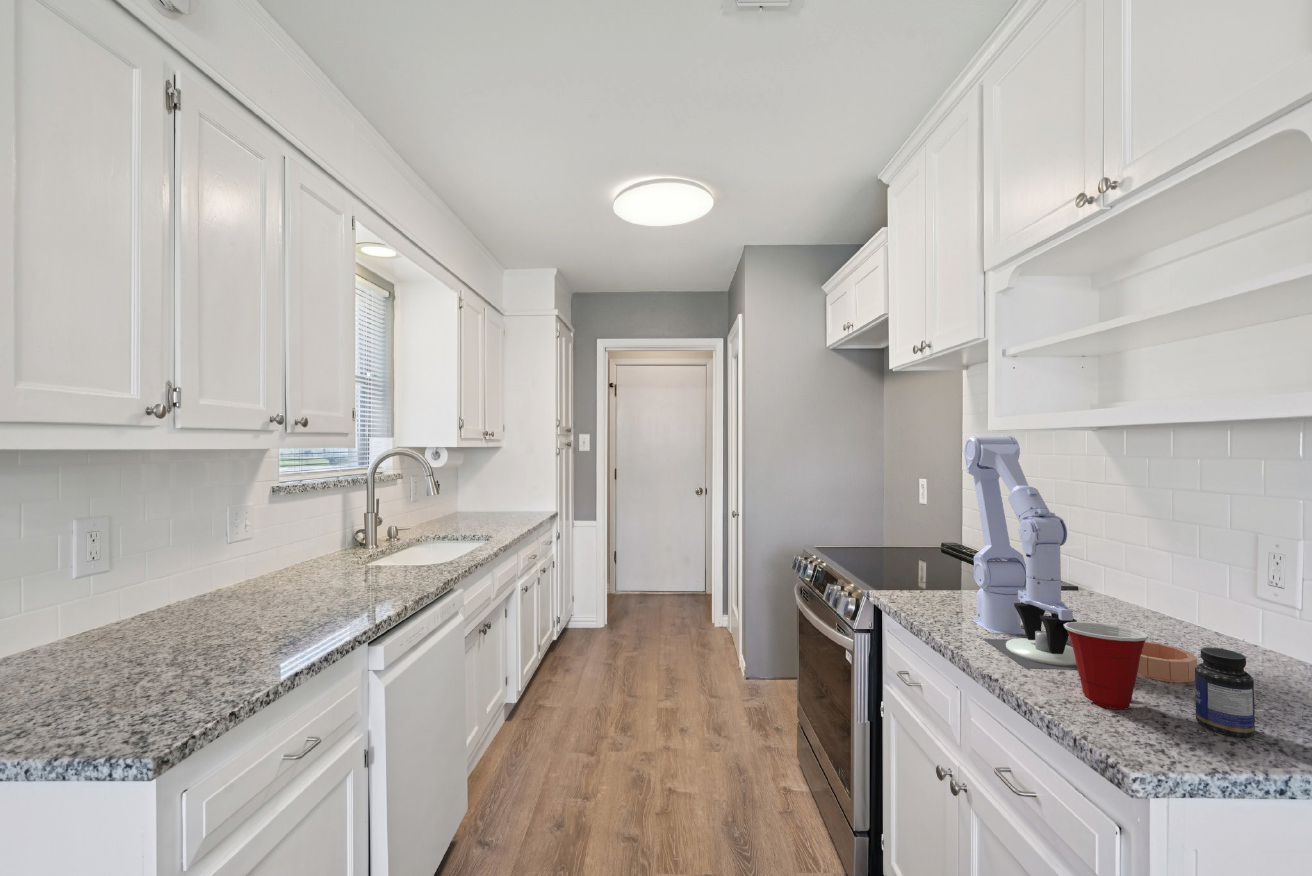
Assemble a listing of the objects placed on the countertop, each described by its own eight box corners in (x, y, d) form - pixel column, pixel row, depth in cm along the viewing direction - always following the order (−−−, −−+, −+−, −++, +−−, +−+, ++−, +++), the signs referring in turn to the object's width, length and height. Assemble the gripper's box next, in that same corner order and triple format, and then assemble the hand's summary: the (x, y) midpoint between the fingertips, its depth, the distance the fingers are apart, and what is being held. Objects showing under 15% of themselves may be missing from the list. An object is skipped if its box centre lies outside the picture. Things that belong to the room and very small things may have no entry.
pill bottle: (1198, 714, 86) (1196, 642, 87) (1256, 729, 82) (1254, 653, 82) (1193, 727, 82) (1191, 652, 82) (1254, 743, 78) (1252, 663, 78)
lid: (993, 641, 118) (993, 622, 118) (1058, 642, 117) (1058, 623, 117) (1029, 665, 105) (1028, 644, 105) (1102, 667, 104) (1102, 645, 104)
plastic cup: (1127, 691, 95) (1125, 619, 95) (1166, 721, 84) (1164, 641, 85) (1053, 684, 98) (1052, 615, 98) (1082, 712, 87) (1080, 635, 87)
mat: (982, 641, 119) (982, 638, 119) (1061, 643, 118) (1061, 640, 118) (1025, 670, 103) (1025, 668, 103) (1117, 673, 102) (1117, 670, 102)
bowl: (1101, 660, 108) (1100, 639, 108) (1162, 661, 107) (1161, 640, 107) (1145, 683, 97) (1145, 660, 98) (1213, 685, 96) (1213, 662, 97)
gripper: (1002, 569, 119) (1003, 633, 118) (1043, 586, 104) (1045, 659, 104) (1037, 569, 118) (1039, 634, 118) (1084, 586, 104) (1085, 660, 103)
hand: (1044, 646), depth 111 cm, fingers open, 7 cm apart
